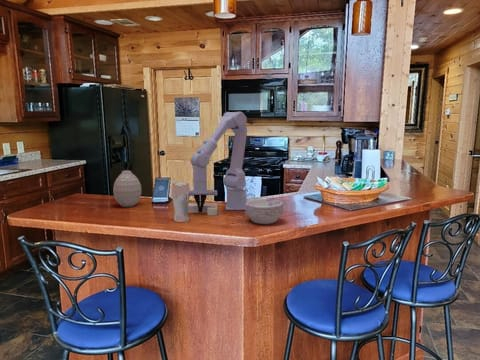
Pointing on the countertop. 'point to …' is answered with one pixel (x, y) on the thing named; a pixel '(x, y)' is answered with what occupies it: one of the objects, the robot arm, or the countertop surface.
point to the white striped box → (194, 208)
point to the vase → (127, 189)
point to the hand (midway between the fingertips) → (200, 211)
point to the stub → (212, 210)
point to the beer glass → (180, 201)
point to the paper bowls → (264, 210)
